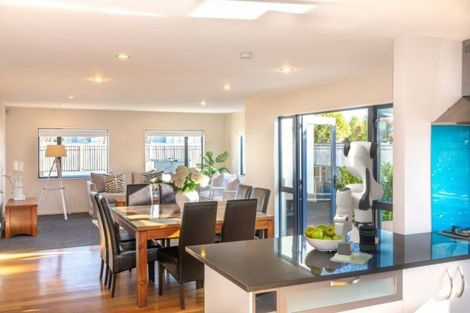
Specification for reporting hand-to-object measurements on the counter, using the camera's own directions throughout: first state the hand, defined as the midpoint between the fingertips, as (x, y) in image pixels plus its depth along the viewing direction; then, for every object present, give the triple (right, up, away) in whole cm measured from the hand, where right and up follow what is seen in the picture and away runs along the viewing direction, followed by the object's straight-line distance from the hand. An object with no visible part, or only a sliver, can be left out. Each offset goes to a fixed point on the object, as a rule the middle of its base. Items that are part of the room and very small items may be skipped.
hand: (344, 241), depth 245 cm
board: (+4, -10, +1) cm, 11 cm away
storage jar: (+19, -10, +19) cm, 29 cm away
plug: (0, -9, -1) cm, 9 cm away
